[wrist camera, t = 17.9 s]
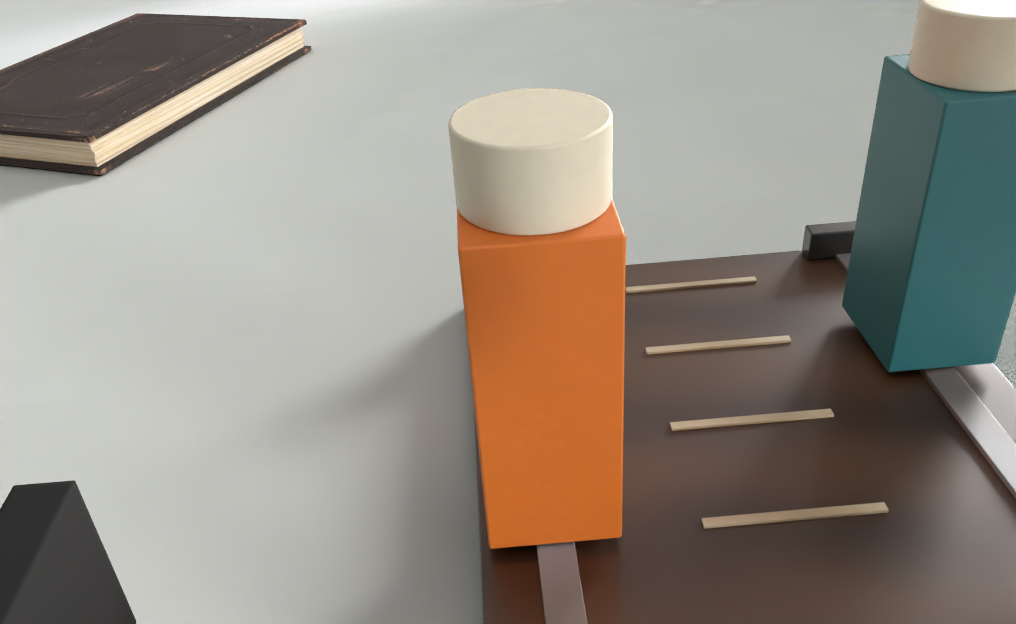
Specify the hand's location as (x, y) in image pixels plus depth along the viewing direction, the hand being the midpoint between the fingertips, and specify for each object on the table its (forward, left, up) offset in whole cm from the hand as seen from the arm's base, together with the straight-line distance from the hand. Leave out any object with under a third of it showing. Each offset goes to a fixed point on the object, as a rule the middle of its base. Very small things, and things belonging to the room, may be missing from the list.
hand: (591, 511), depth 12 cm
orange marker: (+10, 0, -9) cm, 13 cm away
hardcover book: (+52, +25, -11) cm, 59 cm away
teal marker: (+16, -13, -9) cm, 22 cm away
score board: (+12, -7, -11) cm, 17 cm away
